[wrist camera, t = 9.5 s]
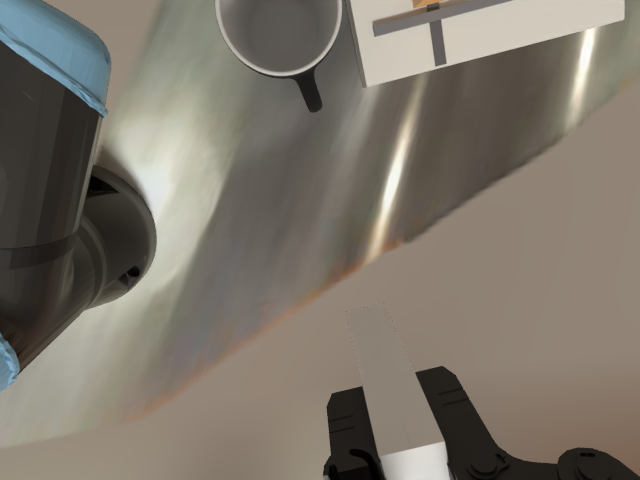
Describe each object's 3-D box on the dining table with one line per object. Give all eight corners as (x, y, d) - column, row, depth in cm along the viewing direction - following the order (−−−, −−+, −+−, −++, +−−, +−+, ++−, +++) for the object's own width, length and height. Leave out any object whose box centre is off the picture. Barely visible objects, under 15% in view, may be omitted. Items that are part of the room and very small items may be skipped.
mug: (218, 2, 36) (190, -36, 27) (309, -40, 35) (313, -94, 26) (273, 128, 40) (265, 135, 30) (356, 93, 39) (375, 88, 30)
